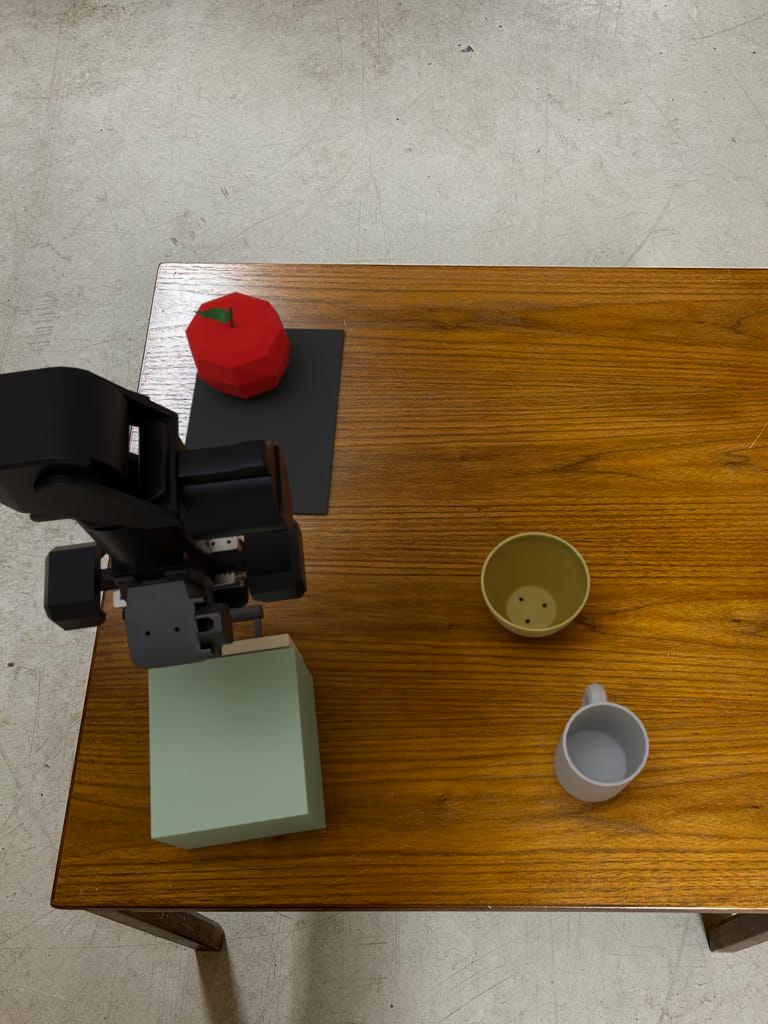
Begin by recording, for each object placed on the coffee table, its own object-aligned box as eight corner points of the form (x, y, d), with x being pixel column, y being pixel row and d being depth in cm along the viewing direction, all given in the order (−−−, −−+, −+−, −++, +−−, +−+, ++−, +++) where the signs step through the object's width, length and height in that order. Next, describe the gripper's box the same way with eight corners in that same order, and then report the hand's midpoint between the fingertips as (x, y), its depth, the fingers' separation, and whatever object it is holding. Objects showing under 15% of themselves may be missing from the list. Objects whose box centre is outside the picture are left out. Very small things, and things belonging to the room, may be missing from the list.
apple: (298, 332, 92) (278, 263, 83) (297, 409, 88) (276, 347, 79) (205, 336, 92) (174, 267, 82) (199, 414, 88) (167, 351, 79)
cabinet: (181, 695, 77) (148, 667, 69) (312, 676, 78) (294, 646, 70) (186, 849, 72) (150, 838, 64) (326, 827, 73) (308, 814, 65)
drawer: (183, 634, 79) (157, 607, 72) (299, 617, 79) (284, 589, 73) (189, 816, 73) (161, 804, 66) (315, 796, 73) (300, 783, 67)
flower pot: (469, 576, 82) (469, 544, 75) (564, 555, 83) (572, 521, 76) (494, 667, 79) (496, 642, 72) (592, 643, 80) (604, 616, 73)
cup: (555, 805, 74) (565, 788, 66) (548, 700, 78) (557, 671, 69) (633, 802, 74) (653, 785, 66) (622, 698, 78) (640, 669, 69)
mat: (174, 512, 84) (173, 510, 84) (205, 328, 93) (204, 326, 92) (327, 515, 84) (326, 513, 84) (344, 331, 93) (343, 329, 92)
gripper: (-8, 658, 51) (100, 720, 65) (289, 616, 52) (329, 687, 66) (0, 504, 54) (100, 596, 69) (277, 468, 56) (318, 566, 70)
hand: (211, 613), depth 69 cm, fingers closed
